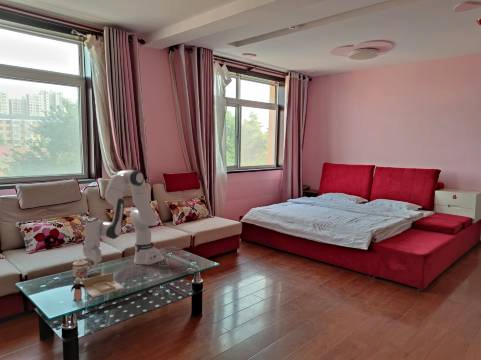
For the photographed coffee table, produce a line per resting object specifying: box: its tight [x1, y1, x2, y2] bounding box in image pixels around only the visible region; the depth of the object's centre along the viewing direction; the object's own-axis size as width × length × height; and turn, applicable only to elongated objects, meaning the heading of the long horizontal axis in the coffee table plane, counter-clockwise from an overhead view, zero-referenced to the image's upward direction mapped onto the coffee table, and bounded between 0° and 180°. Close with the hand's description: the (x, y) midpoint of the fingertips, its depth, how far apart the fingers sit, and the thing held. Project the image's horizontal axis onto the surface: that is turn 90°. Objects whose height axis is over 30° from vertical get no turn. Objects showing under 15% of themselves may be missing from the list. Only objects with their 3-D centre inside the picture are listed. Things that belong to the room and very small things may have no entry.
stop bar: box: [84, 270, 102, 279], centre depth 217 cm, size 8×4×5 cm, turn 135°
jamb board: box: [73, 272, 125, 298], centre depth 211 cm, size 19×29×6 cm, turn 45°
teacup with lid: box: [72, 258, 93, 278], centre depth 227 cm, size 12×9×12 cm
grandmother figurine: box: [70, 277, 86, 302], centre depth 191 cm, size 8×4×13 cm, turn 126°
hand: (92, 265), depth 216 cm, fingers open, 8 cm apart
